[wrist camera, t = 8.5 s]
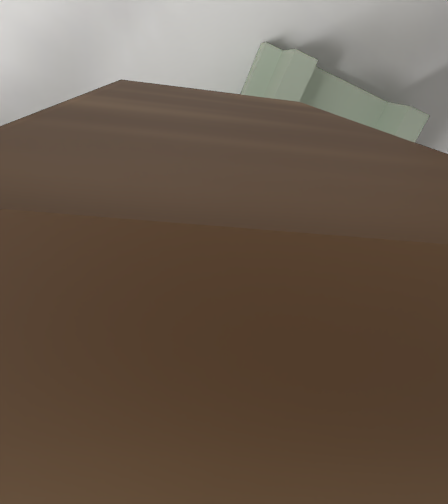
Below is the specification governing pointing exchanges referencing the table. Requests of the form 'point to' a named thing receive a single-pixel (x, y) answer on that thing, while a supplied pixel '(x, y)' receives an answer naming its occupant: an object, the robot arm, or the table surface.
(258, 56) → the pale green channel holder
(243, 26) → the table surface
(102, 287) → the wooden picture frame
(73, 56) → the table surface
